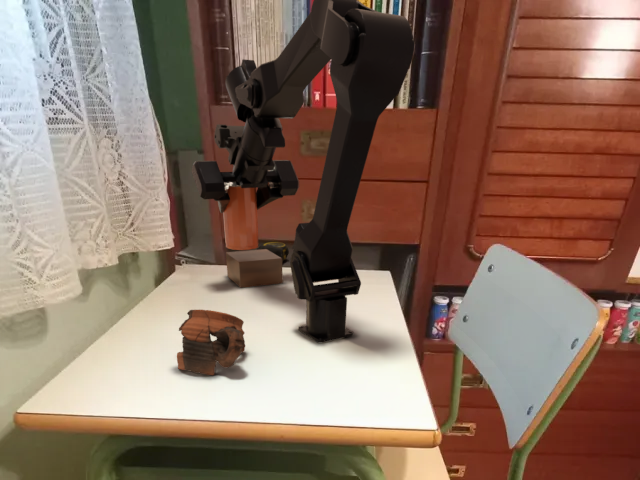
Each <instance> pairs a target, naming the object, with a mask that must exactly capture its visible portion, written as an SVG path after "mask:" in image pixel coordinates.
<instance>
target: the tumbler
mask: <svg viewBox="0 0 640 480" xmlns="http://www.w3.org/2000/svg"><path fill="white" fill-rule="evenodd" d="M227 192H228V195H229V197H230V201H229V203H228V205H227V207H226V209H225V211H224V212H223V213H222V214H223V226H224V227H223V228H224V238H225V239H224V240H225V248H226V249H229V250H234V251H249V250H256V249H257V248H258V247H259V225H258V210H257V199H256V192H257V188H241V187H229V189H228V191H227Z"/></svg>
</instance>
